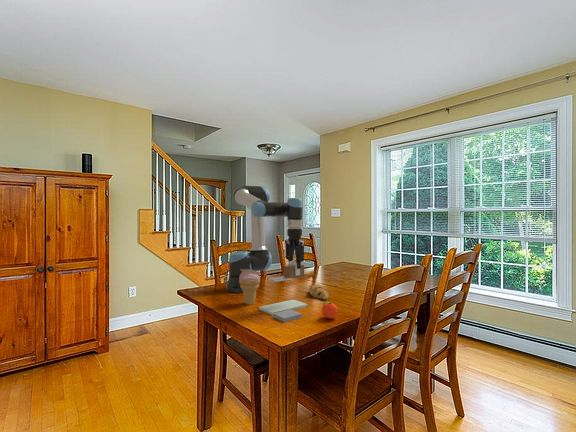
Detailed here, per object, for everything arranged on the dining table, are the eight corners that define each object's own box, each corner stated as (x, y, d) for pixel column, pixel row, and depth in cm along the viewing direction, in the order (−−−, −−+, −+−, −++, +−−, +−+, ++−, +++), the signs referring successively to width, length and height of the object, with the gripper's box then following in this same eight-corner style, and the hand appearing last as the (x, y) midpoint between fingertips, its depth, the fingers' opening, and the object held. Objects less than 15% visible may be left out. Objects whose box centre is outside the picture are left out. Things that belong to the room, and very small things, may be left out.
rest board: (258, 309, 148) (258, 307, 148) (293, 301, 161) (293, 299, 161) (272, 315, 139) (272, 312, 139) (307, 306, 153) (307, 304, 153)
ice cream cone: (236, 301, 161) (237, 263, 161) (256, 299, 165) (257, 262, 165) (241, 307, 151) (241, 267, 151) (262, 305, 155) (263, 265, 155)
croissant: (331, 306, 164) (337, 293, 165) (316, 299, 161) (323, 285, 162) (314, 296, 184) (320, 284, 185) (301, 289, 181) (307, 277, 182)
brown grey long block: (297, 275, 160) (297, 263, 160) (305, 277, 155) (305, 265, 155) (268, 279, 148) (268, 267, 148) (275, 281, 143) (275, 269, 143)
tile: (290, 313, 143) (273, 318, 136) (290, 309, 143) (273, 313, 136) (301, 318, 136) (284, 323, 130) (301, 313, 136) (284, 318, 130)
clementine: (317, 316, 137) (317, 301, 137) (328, 314, 141) (328, 298, 141) (329, 322, 131) (329, 305, 131) (340, 318, 135) (341, 302, 135)
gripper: (278, 228, 159) (278, 272, 159) (300, 229, 146) (300, 278, 146) (289, 227, 164) (289, 271, 164) (311, 228, 150) (311, 276, 150)
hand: (294, 274), depth 155 cm, fingers closed on brown grey long block, 4 cm apart
